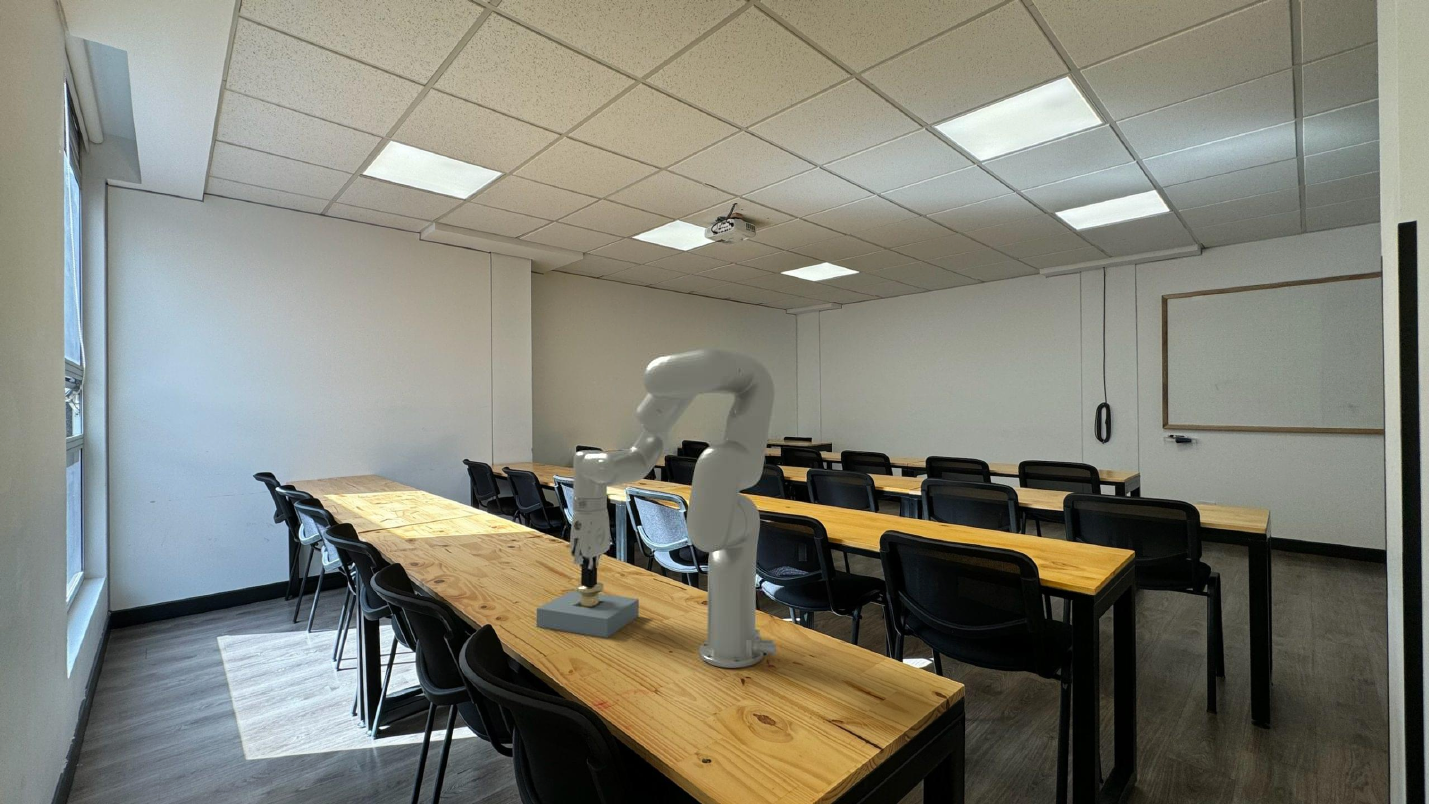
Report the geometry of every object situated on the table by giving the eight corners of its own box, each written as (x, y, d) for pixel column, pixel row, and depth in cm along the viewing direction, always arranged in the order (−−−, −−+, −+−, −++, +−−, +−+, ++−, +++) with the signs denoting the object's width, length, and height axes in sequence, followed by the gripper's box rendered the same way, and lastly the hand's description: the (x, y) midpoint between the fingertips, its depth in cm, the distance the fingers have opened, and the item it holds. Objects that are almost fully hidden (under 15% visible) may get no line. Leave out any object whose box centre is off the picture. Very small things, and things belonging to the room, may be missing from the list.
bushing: (607, 618, 133) (608, 583, 133) (593, 627, 127) (594, 590, 128) (585, 614, 135) (586, 580, 135) (570, 623, 129) (571, 587, 130)
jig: (638, 616, 134) (638, 598, 134) (607, 638, 121) (607, 619, 121) (573, 606, 141) (573, 590, 141) (536, 626, 128) (536, 608, 128)
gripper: (585, 510, 123) (584, 597, 123) (620, 500, 137) (620, 578, 137) (556, 508, 126) (555, 592, 125) (593, 499, 140) (592, 574, 139)
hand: (589, 585), depth 131 cm, fingers closed
